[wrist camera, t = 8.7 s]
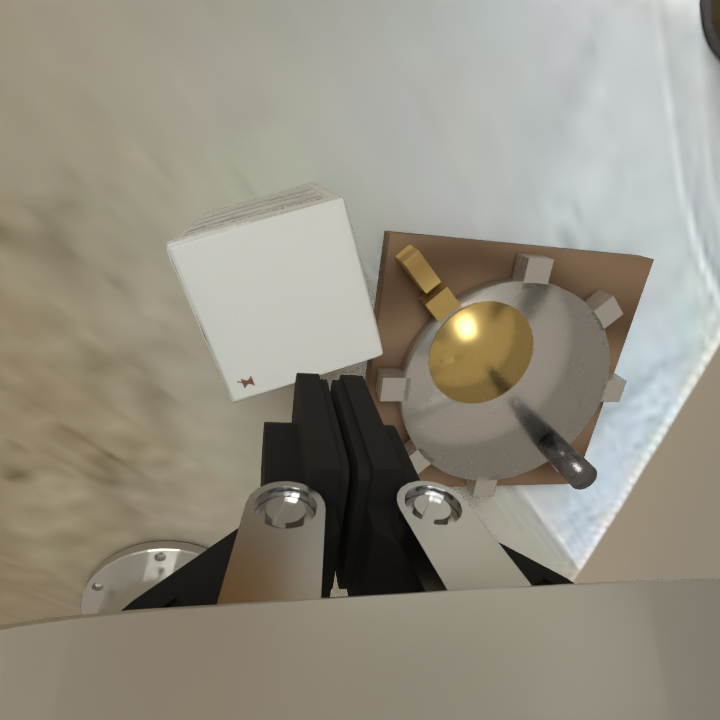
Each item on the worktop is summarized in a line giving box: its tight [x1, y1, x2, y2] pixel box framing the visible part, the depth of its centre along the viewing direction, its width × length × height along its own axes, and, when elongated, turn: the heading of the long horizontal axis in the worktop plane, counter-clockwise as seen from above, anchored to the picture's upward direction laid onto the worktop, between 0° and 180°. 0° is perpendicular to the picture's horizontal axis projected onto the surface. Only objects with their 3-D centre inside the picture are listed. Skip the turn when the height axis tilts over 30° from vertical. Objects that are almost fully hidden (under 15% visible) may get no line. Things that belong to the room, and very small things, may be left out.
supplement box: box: [166, 183, 383, 403], centre depth 25 cm, size 7×7×13 cm
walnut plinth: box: [365, 231, 654, 487], centre depth 36 cm, size 20×20×4 cm
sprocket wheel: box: [375, 253, 626, 497], centre depth 33 cm, size 19×19×6 cm
